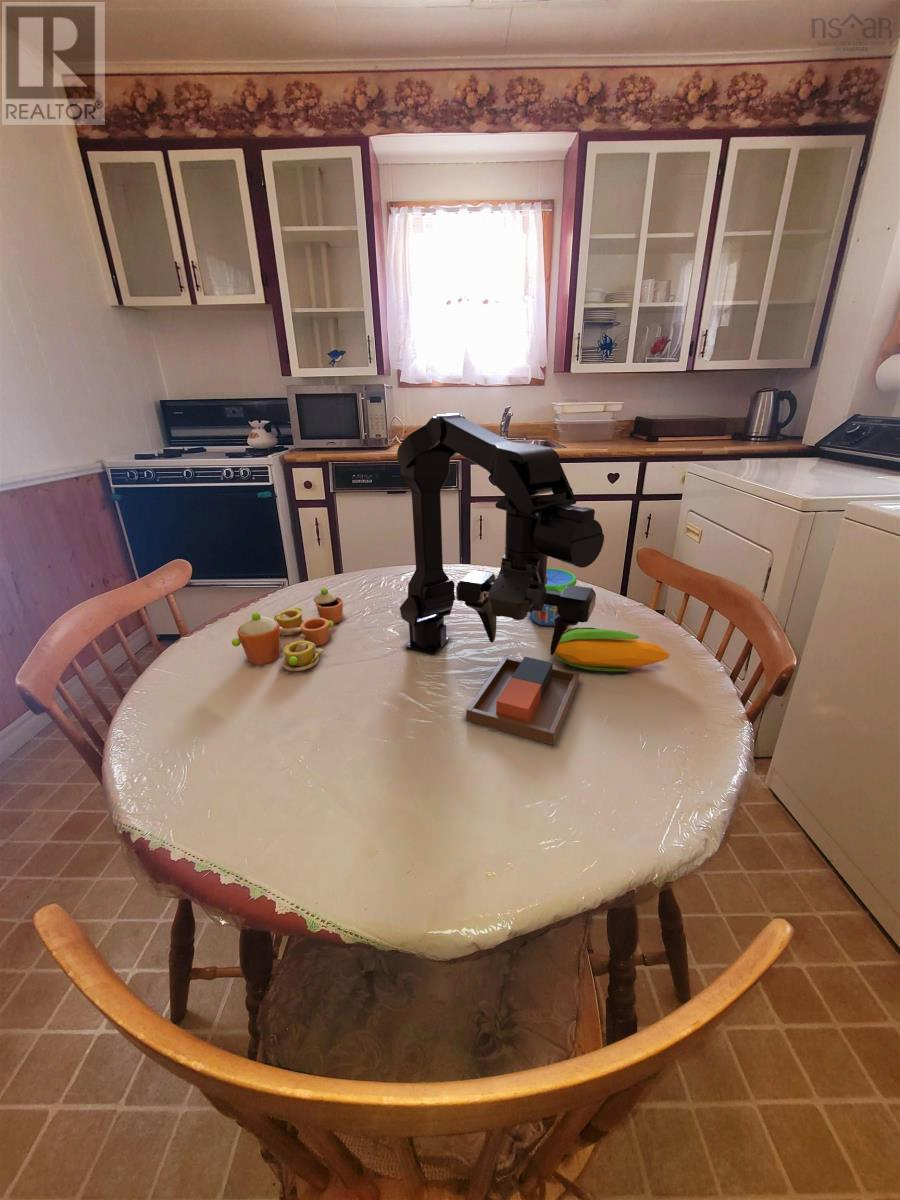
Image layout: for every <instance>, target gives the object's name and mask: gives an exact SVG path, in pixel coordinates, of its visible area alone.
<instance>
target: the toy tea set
mask: <svg viewBox="0 0 900 1200" xmlns="http://www.w3.org/2000/svg"><path fill="white" fill-rule="evenodd" d="M313 602H314V603H315V606H316V609H317V612H318V613H317V614H318V615H319V617H311V618H308V619H306V620H304V619H303V612H302V608H301V607H300V606H297V607H295V608H289V609H288V608H287V609H284V610H281V611H279V612H278V613H276V614H275V615H274V616H273V618H271V617H268V616H265V615H261V613H260V612H256V611H255V612H253V613H252V615H251V618H248V619H247V620H246V621H244V623H243V624H242V625H240V626H239V627H238V629H237V633H236V634H237V636H238V637H235V638H232V640H231V645H232V646H233V647H238V646H240V645H241V646H242V649H243V651H244V653H245V656H246V658H247V660H248V662H249V663H251V664H253V665H257V666H259V665H260V666H261V665H267V664H271V663H273V662H274V661H277V659H279V657H280V654H281V650H280V649H281V642H280V641H281V640H280V639H281V636H292V635H295V634H299V633H301V634H299V639H301V640H296V641H293V642H290V643H288V644H287V645H285V647H283V649H282V651H283V655H284V657H283V658H282V660H281V666H282V668H283V669H285V670H287V671H290V672H301V671H305V670H308V669H311V668H312V667H314V666H315V665H317V663H318V662H319V659H320V656H319V655H322V654H324V649H323V648H321V647H318V646H322V645H325V644H327V642H328V641H329V640H330V639H329V637H330V629H332V628H333V627H334V625H335V624H337V623H340V622H341V621H342V620H343V608H344V599H343V598H341V597H339V596H337V595H336V594H335V593H333V592H330V591H329V589H328V588H326V587H322V588H321V589H320V593H317V594H316V595H315V596H314V597H313ZM303 639H304V640H303Z"/></svg>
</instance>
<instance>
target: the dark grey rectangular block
mask: <svg viewBox="0 0 900 1200" xmlns="http://www.w3.org/2000/svg"><path fill="white" fill-rule="evenodd" d="M521 660H522V662H521V663H520V665H519V666H518V668H517V670H516V671H515V673H514V674H513V676H512V677H513V678H517V679H521V680H525V681H530V682H534V683H538V684H541V698H540V701H541V699H542V697H543V695H544V693H545V691H546V689H547V687H548V685H549V683H550V681H551V679H552V668H553V667H554V662H553V661H547V660H543V659H538V658H533V657H529V656H524V657H523V659H521Z"/></svg>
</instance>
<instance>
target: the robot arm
mask: <svg viewBox="0 0 900 1200" xmlns="http://www.w3.org/2000/svg"><path fill="white" fill-rule="evenodd" d="M457 454H458V455H460V456H462V457H464V458H465V459H467V460H469V461H470V462H472V463H474V464H476V465H478V466H479V467H481V468H483V469H484V470H486V471H487V472H488V474H489V475H490V480H491V483H492V484H493V485H494V486H495V487H496V488H497V489H498V490H499V491H501V492H502V493H503V494H504V495H503V497H501V498H500V499H499V500H498V501H496V503H495V508H496V509H498V510H502V511H505V532H504V533H505V535H504V536H505V537H504V538H505V539H504V555H503V556H502V557H501V562H500V569H499V572H498V575H497V577H496V575H495V574H494V573H493V572H486V571H478V570H471V571H470V572H469V573H467V574H466V575H465V576H464V577H463V578H462V579H461V580H459V582H457V585H455V582H454V580H453V579H450V578H449V576H448V575H447V574H446V572H445V571H444V560H443V530H442V528H443V527H442V500H441V495H442V494H441V491H442V489H443V487H444V485H445V483H446V481H447V479H448V477H449V475H450V468H451V460H452V459H453V458H454V457H455V456H456V455H457ZM396 457H397V462H398V465H399V470H400V476H401V477H402V479H403V481H404V482H405V484H406V485H407V486H408V488H409V489H410V492H411V506H412V508H411V509H412V523H413V525H412V526H413V540H414V557H415V559H414V560H415V570H414V573H413V574H412V576H411V577H410V580H409V583H408V584H407V598H406V599H405V600H404V601H403V602H402V604H401V605H400V606H399V612H400V617H401V619H402V620H404V622H407V623H408V630H409V632H408V633H409V642H408V643H406V644H405V648H406V649H409V650H413V651H418V652H422V653H426V654H431V655H435V654H437V653H438V652H439V651H440V650H441V648H443V647H444V645H446V643H447V642H449V637H447V635H448V634H447V624H446V623H445V617H446V616H450V615H451V613H452V609H453V606H454V603H455V601H456V600H457V601H459V602H464V605H465V607H468V608H471V609H473V610H474V611H475V612H476V613H477V614H478V616H479V619H480V620H481V623H482V624H483V627H484V630H485V633H486V636H487V637H488V640H489V642H490V643H494V642H495V641H496V634H497V617H504V618H509V619H513V620H514V621H523V620H524V619H526V618H527V616H528V614H529V613H530V612H531V613H532V612H533V611H534V610H535V611H542V609H543V606H544V604H547V605H553V606H558V607H557V613H558V615H557V617H556V618H555V620H554V622H555V625H554V626H553V627H554V628H553V633H552V637H551V643H550V653H549V655H550V656H554V655H555V654H554V653H555V651H556V649H557V646H558V644H559V642H560V640H561V638H562V636H563V634H564V632H566V631H567V629H568V627H569V626H572V627H573V626H577V625H578V624H579V623H587V622H588V621H589V620H590V617H591V615H592V613H593V612H594V609H595V606H596V599H597V592H595V590H594V589H593V588H592V587H586V586H581V585H575V586H574V585H567V586H566V588H565V589H564V591H563V592H555V591H549V590H546V588H545V587H546V584H547V577H546V572H547V568H548V558H549V557H550V558H553V559H555V560H557V561H559V562H564V563H566V564H569V565H570V566H571V565H572V566H574V567H578V568H579V569H581V568H587V567H590V566H591V565H592V564H593V563H594V562H595V561H596V560H597V559H598V557H599V555H601V554H600V553H601V552H602V550H603V547H604V542H605V534H604V533H603V528H602V525H601V523H600V522H599V520H598V521H597V519H595V514H596V510H595V509H594V508H591V507H585V506H584V507H581V506H580V507H579V506H575V505H576V504H577V498H576V495H575V493H574V491H573V488H572V486H571V484H570V482H569V480H568V478H567V475H566V473H565V471H564V468H563V466H562V464H561V462H560V455H559V453H558V452H557V451H556V449H554V448H552V447H549V446H545V445H540V444H534V443H525V442H515V441H511V440H509V439H507V438H505V437H502V436H500V435H498V434H497V433H494V432H493V431H490V430H489V429H486V428H484V427H483V426H480V425H478V424H477V423H474V422H472V421H470V420H469V419H467V418H466V417H465V416H464V415H461V414H460V413H446V414H436V415H434V416H433V417H431V418H430V419H429V420H428V421H427V423H425V425H423V426H421V427H419V428H417V429H416V430H414V431H413V432H411V433H409V434H408V435H407V436H406V437H405V438H403V440H402V442H401V444H399V445H398V448H397V451H396ZM549 493H550V494H549ZM544 494H545V495H544ZM455 586H456V588H455ZM455 589H456V590H455ZM455 594H456V595H455Z"/></svg>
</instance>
